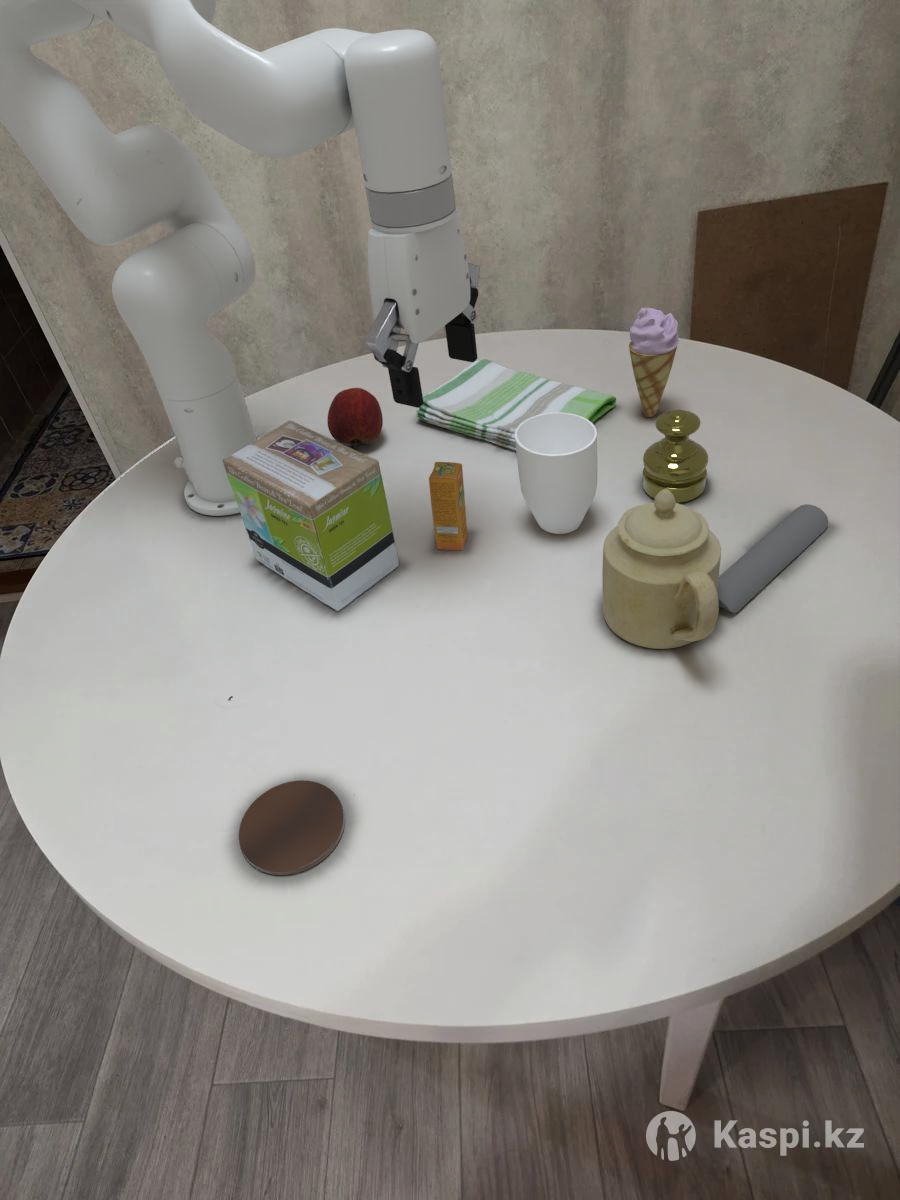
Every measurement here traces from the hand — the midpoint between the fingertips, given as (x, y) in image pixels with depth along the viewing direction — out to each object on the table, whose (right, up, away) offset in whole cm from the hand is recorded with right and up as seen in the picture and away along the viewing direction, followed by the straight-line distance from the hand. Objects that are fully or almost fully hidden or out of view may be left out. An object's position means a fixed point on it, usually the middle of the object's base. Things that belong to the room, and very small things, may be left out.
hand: (437, 380), depth 86 cm
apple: (-11, 0, +33) cm, 35 cm away
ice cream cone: (+28, +3, +30) cm, 42 cm away
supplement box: (+2, -15, +14) cm, 21 cm away
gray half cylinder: (+35, -18, +5) cm, 39 cm away
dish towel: (+10, +4, +34) cm, 36 cm away
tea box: (-13, -18, +14) cm, 26 cm away
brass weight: (+28, -8, +18) cm, 34 cm away
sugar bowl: (+24, -24, +1) cm, 34 cm away
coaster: (-12, -41, -13) cm, 45 cm away
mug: (+15, -12, +16) cm, 25 cm away
